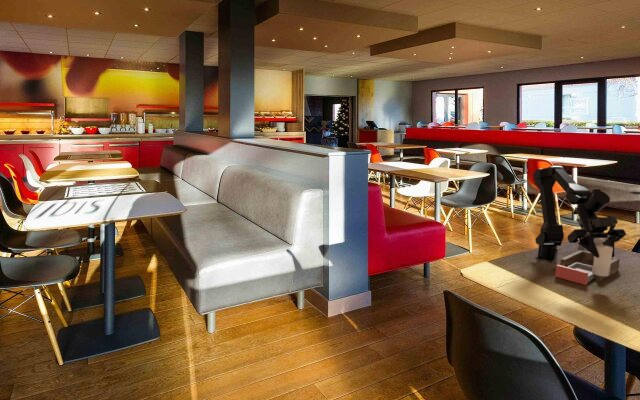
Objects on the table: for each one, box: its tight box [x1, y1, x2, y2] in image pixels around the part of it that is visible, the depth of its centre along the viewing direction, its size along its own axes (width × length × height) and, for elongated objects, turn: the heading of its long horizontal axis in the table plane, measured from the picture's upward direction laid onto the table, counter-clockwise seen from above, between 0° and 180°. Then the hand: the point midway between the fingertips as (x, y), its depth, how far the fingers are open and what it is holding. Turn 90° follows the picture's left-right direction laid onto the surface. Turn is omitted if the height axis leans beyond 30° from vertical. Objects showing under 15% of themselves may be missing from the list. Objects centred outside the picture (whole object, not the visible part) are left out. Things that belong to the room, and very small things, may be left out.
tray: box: [554, 262, 596, 286], centre depth 174 cm, size 11×17×4 cm, turn 130°
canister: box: [592, 244, 613, 277], centre depth 161 cm, size 5×5×10 cm
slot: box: [559, 250, 621, 282], centre depth 180 cm, size 15×18×5 cm
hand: (605, 257), depth 159 cm, fingers closed on canister, 5 cm apart
